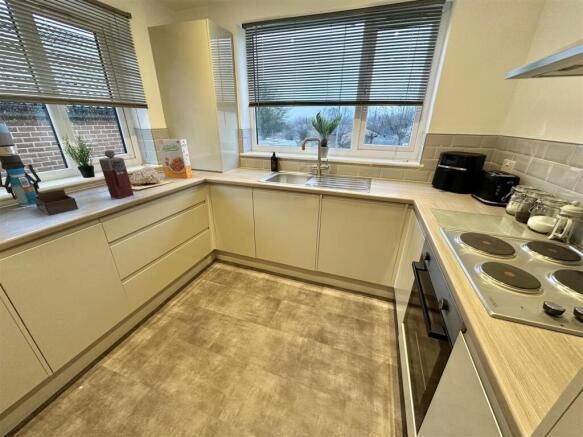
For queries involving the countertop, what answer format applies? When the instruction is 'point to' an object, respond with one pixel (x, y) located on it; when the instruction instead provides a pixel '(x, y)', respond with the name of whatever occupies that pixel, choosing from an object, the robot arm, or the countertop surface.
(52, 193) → the caddy
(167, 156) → the cereal box
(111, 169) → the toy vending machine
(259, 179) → the countertop surface
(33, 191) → the beverage bottle
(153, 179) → the bread loaf on board
